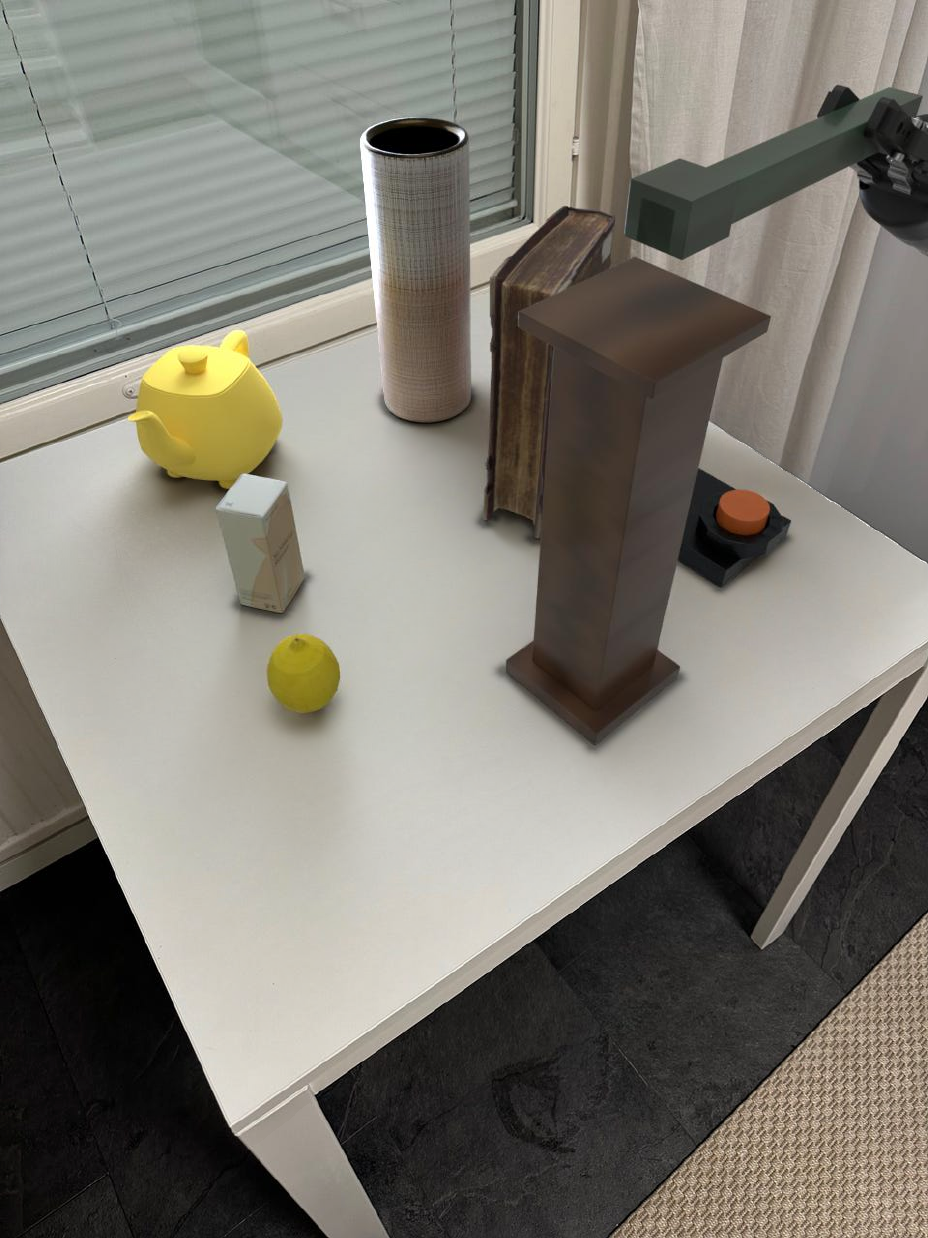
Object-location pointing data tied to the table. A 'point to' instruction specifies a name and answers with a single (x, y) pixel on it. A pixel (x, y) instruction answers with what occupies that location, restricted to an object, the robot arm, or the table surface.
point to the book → (532, 353)
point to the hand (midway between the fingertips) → (854, 109)
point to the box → (261, 542)
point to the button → (742, 512)
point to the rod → (747, 179)
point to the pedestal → (620, 480)
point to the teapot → (207, 412)
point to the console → (723, 535)
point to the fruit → (303, 673)
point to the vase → (420, 263)
